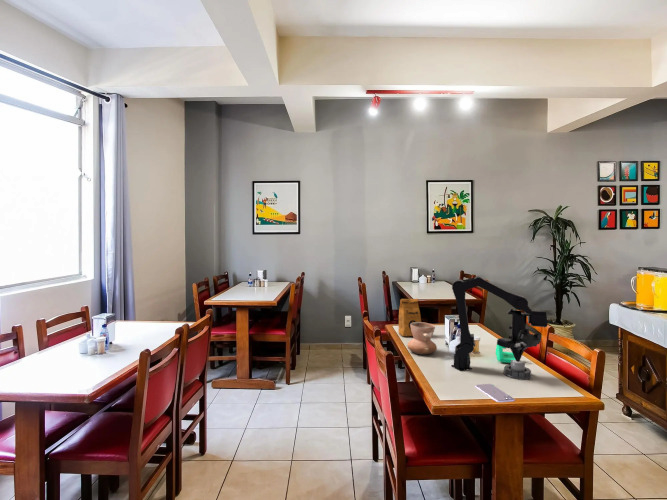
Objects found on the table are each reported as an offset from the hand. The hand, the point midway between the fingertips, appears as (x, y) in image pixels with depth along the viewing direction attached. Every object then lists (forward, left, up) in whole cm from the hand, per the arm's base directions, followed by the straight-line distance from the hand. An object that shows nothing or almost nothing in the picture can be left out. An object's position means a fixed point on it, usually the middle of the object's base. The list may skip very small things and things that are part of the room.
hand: (517, 361), depth 160 cm
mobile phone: (-24, -11, -6) cm, 27 cm away
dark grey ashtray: (0, 0, -6) cm, 6 cm away
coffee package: (-8, +70, -6) cm, 71 cm away
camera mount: (+11, +16, -6) cm, 20 cm away
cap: (0, 0, -5) cm, 5 cm away
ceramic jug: (-20, +41, -6) cm, 46 cm away
